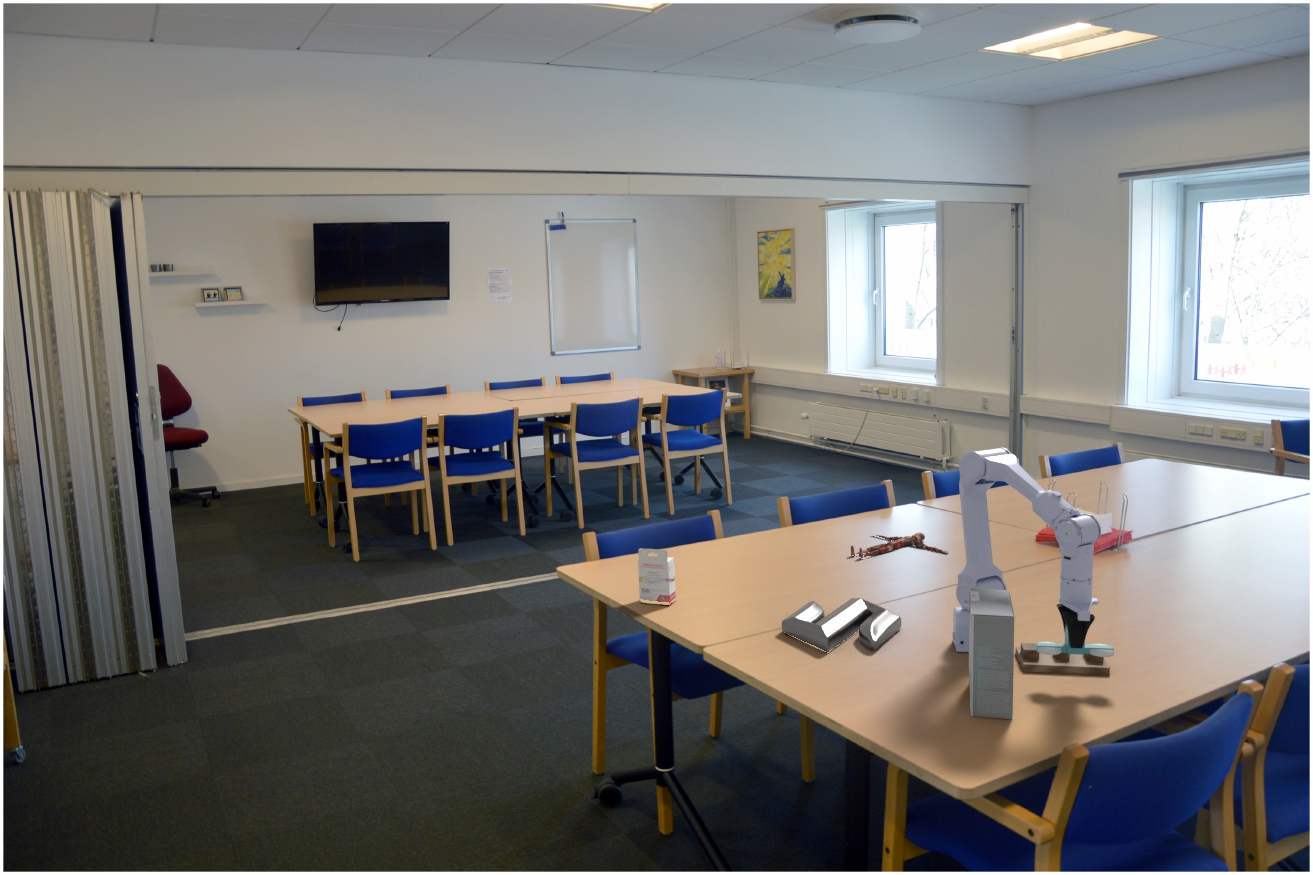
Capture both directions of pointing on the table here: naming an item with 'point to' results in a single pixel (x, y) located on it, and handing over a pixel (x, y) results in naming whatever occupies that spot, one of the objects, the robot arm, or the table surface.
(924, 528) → the table surface
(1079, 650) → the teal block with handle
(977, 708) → the hard drive box
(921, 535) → the mannequin
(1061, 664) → the display stand
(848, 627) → the emblem
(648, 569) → the ink cartridge box
